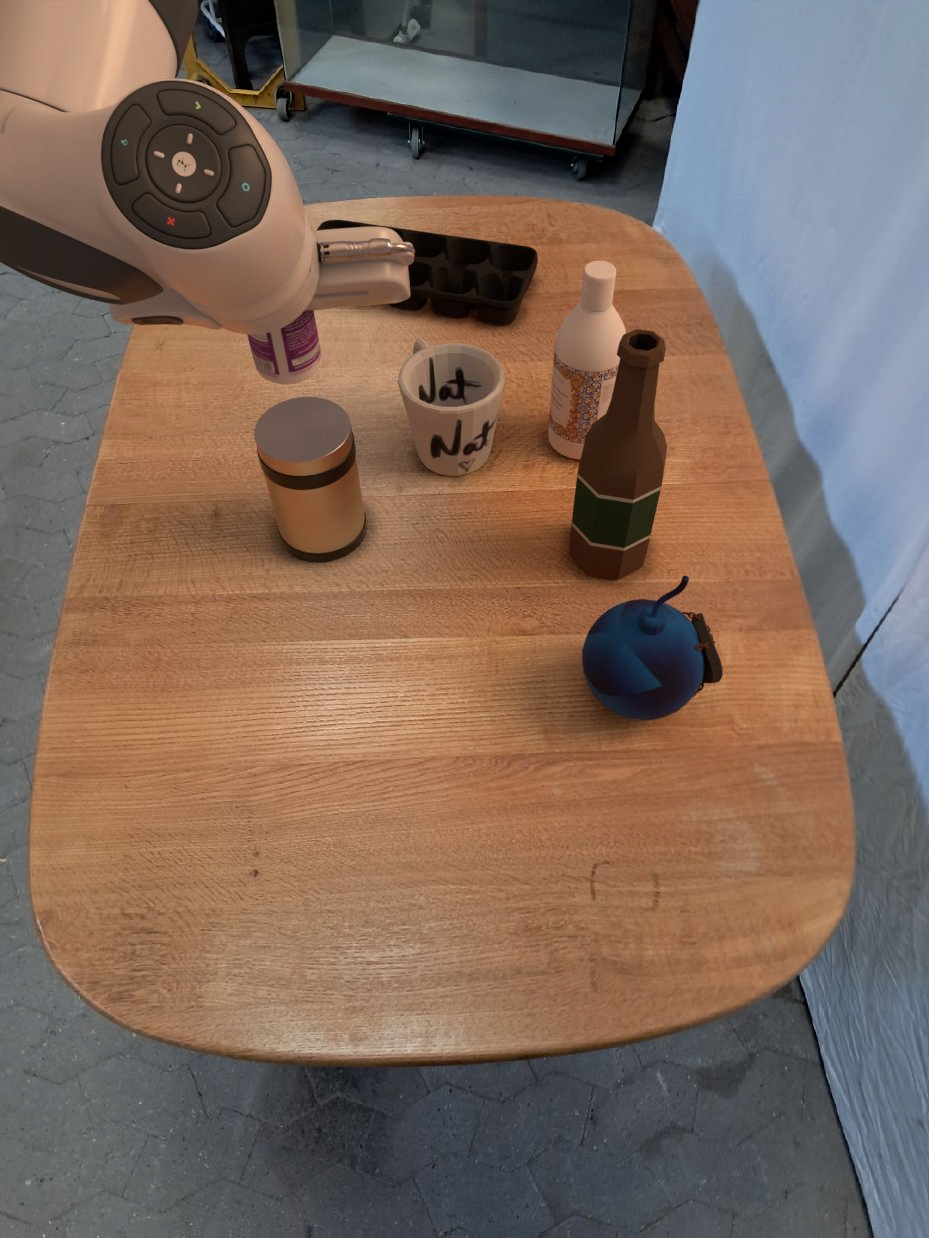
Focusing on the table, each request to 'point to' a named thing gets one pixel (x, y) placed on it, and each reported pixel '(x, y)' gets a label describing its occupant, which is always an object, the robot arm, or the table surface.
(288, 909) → the table surface
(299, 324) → the pill bottle
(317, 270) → the robot arm
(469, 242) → the egg carton
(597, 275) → the bath foam
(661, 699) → the bomb
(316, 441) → the copper canister
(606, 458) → the beer bottle
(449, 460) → the mug
